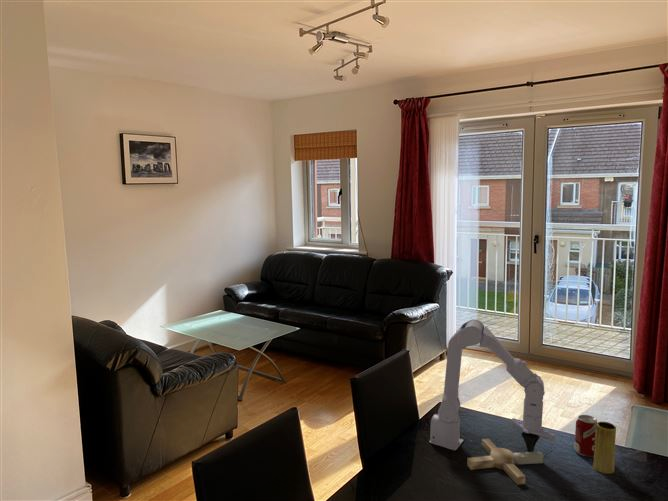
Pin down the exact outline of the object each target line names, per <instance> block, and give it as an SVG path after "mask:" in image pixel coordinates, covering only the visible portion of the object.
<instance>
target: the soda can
mask: <svg viewBox="0 0 668 501" xmlns="http://www.w3.org/2000/svg"><path fill="white" fill-rule="evenodd" d="M577 418H578V419H576V421H575V432H574V446H573V447H574V448H573V450H574V451H575V452H576V453H577V454H578V455H580V456H581V457H582V456H583V457H586V458H594V450H595V440H596V429H597V423H598V419H597V418H596V417H595V416H592V415H587V414H580V415H578V417H577Z"/></svg>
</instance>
